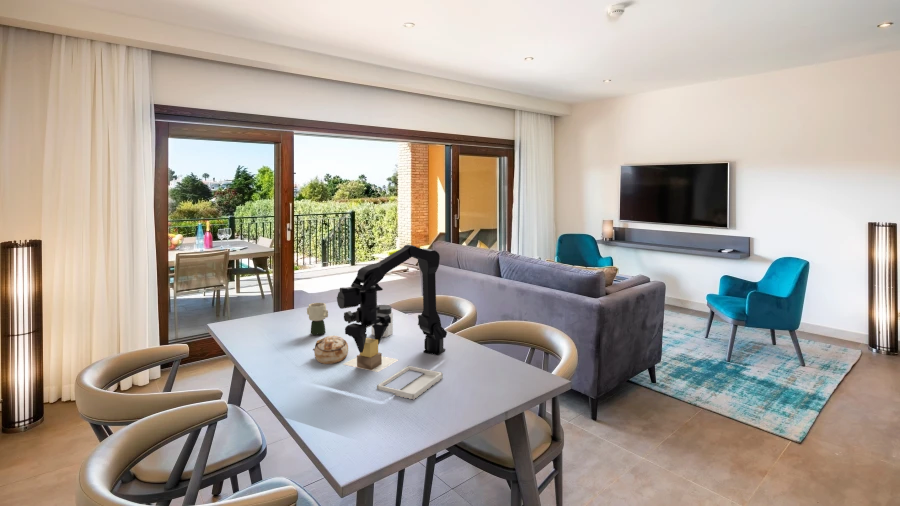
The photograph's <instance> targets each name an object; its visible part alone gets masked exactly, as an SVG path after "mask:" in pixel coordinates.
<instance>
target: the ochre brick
mask: <svg viewBox="0 0 900 506" xmlns="http://www.w3.org/2000/svg"><path fill="white" fill-rule="evenodd" d="M378 353H379V344H378V340H377V339H375V338H372V337H366V340H365V345H364V349H363V352H362V353H360V352H359V354H360V355H361V356H366V357H370V358H371V357H372V356H374V355H376V354H378Z"/></svg>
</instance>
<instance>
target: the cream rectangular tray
mask: <svg viewBox="0 0 900 506" xmlns="http://www.w3.org/2000/svg"><path fill="white" fill-rule="evenodd" d="M408 371H414V372H419V373H422V374H420V375H419V376H417V377H416V378H415V379H414V380H412V381H410V382H408V383H407V384H406V385H405V386H403V387H402V388H400V389H398V388H397V389H396V388H392V387H388V386H385V385H387V384H389V383H390V382H392V381H394V379H397V378H398V377H400V376H401V375H403V374H405V373H406V372H408ZM440 379H441V380H442V379H443V372H441V371H435V370H431V369H426V368H421V367H416V366H411V365H407V366H406V367H404V368H403V369H401V370H399V371H398V372H396V373H395V374H393V375H391V376H389V377H388V378H386V379H385V380H383V381H381V382H380V383H379V384H376V389H377V390H380V391H384V392H389V393H393V394H392V396H395V395H396V396H395V397H399V396H400V398H403V397H404V398H405V399H407V398H409V399H408V400H411V399H413V400H412V401H414V399H415V398H416V399H417V398H419V397H420V396H422V395H423V394H424V393H426V391H428V390H429V389H431V388H432V387H433V386H434V385H436V384H437V383H438V382H440V381H441V380H440ZM436 382H437V383H436ZM435 383H436V384H435ZM432 385H433V386H432ZM431 386H432V387H431ZM427 389H428V390H427ZM423 392H424V393H423ZM419 395H420V396H419ZM418 396H419V397H418ZM416 399H415V400H416Z"/></svg>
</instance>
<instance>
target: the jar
mask: <svg viewBox="0 0 900 506" xmlns="http://www.w3.org/2000/svg"><path fill="white" fill-rule="evenodd" d="M377 306H378V307H380V310H377V314H378V313H380V314H387V315H389V316H390V317H391V323H389V326H387V328H386V330H385V332H384V334H383V336H382V338H384V337H385V338H388V337H390V336H391V335H393V334H394V333H393V331H394V328H393V325H394V324H393V321H394V319H393V315H394V313H393V312H392V306H391V305H389V304H377ZM371 335H372V336H374V337H375V334H374V328H373V327H372V326H371Z"/></svg>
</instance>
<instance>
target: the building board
mask: <svg viewBox="0 0 900 506" xmlns="http://www.w3.org/2000/svg"><path fill="white" fill-rule="evenodd" d="M398 361H399V359H397V358H392V357H387V356H383V355H382V364H381V365H379V366H378V367H376V368H374V369H372V370H369V369H365V368H360V367H357V356H356V357H354V358H352V359H350V360H348V361H346V362H344V363H342V365H343V366H349V367H354V368H358V369H362V370H366V371H370V372H375V373H379V372H381V371H383V370H384V369H386V368H388V367H389V366H391V365H393V364H394V363H396V362H398Z"/></svg>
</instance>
